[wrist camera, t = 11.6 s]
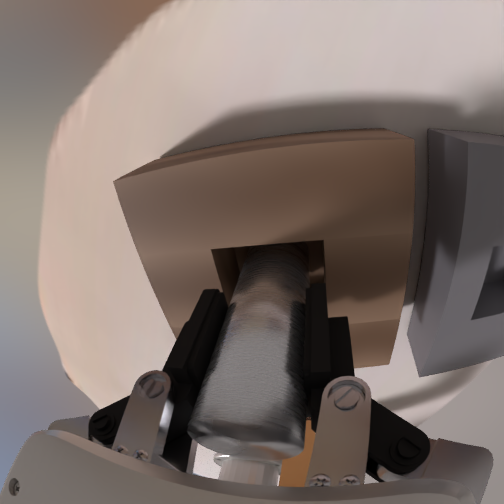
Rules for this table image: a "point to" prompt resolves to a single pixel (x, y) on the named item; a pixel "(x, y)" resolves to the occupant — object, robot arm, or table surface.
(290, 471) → the orange angle bracket
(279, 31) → the table surface
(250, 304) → the grey metal rod
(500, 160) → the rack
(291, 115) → the table surface
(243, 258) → the socket block
